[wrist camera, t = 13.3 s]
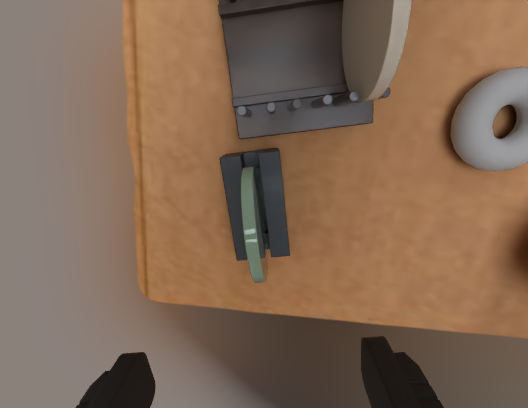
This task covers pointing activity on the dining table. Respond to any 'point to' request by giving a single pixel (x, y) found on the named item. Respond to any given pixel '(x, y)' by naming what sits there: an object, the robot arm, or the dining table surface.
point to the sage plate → (254, 224)
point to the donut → (481, 120)
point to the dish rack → (288, 67)
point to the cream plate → (373, 44)
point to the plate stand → (270, 192)
